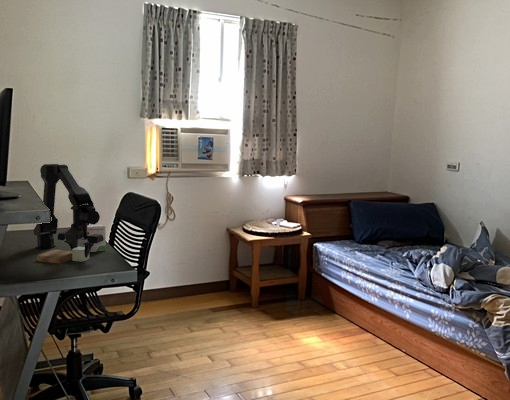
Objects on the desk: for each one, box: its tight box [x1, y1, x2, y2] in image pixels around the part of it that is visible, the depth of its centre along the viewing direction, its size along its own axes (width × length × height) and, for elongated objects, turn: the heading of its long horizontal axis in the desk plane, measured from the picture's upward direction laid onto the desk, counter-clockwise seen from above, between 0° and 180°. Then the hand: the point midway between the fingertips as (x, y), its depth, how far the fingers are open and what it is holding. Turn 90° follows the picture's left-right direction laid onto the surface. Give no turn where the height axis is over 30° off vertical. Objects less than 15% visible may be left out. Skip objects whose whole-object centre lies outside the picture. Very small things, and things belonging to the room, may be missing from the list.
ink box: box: [84, 224, 107, 253], centre depth 225 cm, size 8×5×12 cm, turn 119°
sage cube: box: [71, 246, 90, 263], centre depth 209 cm, size 5×5×5 cm
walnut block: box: [36, 248, 72, 264], centre depth 209 cm, size 11×11×3 cm
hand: (80, 256), depth 209 cm, fingers closed on sage cube, 5 cm apart
